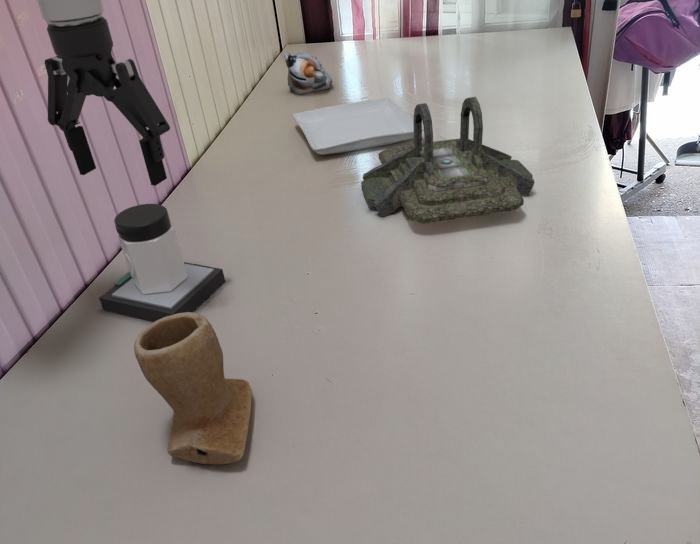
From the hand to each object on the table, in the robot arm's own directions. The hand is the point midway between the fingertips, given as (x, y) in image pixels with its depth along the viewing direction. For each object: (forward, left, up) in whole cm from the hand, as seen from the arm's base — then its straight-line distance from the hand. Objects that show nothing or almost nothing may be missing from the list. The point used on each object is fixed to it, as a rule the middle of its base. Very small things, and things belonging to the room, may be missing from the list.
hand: (122, 176), depth 95 cm
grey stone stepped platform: (+34, +51, -21) cm, 65 cm away
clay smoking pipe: (+26, -24, -21) cm, 41 cm away
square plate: (+2, +77, -21) cm, 80 cm away
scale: (+1, 0, -21) cm, 21 cm away
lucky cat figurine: (-27, +109, -21) cm, 114 cm away
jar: (+1, 0, -18) cm, 18 cm away
